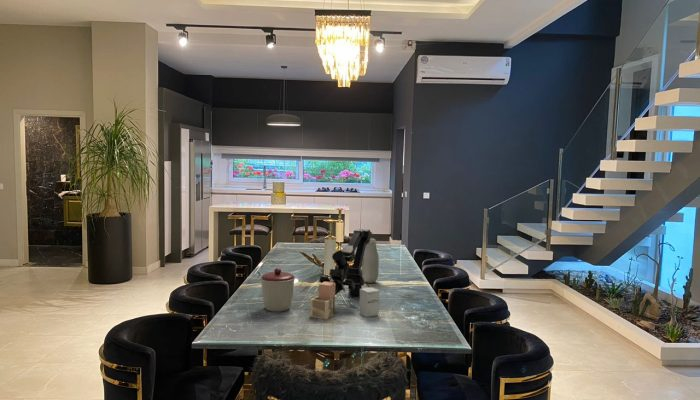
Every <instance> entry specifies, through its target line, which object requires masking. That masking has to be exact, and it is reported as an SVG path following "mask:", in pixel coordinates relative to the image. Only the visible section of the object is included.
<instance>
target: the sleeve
mask: <svg viewBox="0 0 700 400" xmlns="http://www.w3.org/2000/svg"><path fill="white" fill-rule="evenodd" d="M309 301H310V307H309V308H310V311H309V315H310V316H309V317H312V318H316V317H317V318H318V319H322V318H324V319H323V320H328V319H330V318H332V317H333V316H335V310H334V298H331V299H329V300H327V301H323V300H319V295H316V296H314V297H313V298H311V299H309ZM329 317H330V318H329Z"/></svg>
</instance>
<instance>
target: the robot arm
mask: <svg viewBox="0 0 700 400" xmlns="http://www.w3.org/2000/svg"><path fill="white" fill-rule="evenodd" d="M371 238H373V232H372V231H371V230H370V229H364V228H359V229H354V230H353V234H352V236H351V237H350V239H349V241H348V244H347V246H345V247H344V248H343V249H342V250H340V249H338V250H337V251H335V252H334V253H333V254H332V256H331V258H332V260H333V262H334V264H335V265H336V266H337V267H336V268H335V269H333V268H330V270H329V274H328V275H329V276H331V277H330V278H329V277H328V276H323V275H321V276H320V277H319V282H320V284H321V283H323V282H332V283H335V296H336V295H338V294H339V293H340V292H341V291H344V290H345V286H346V287H347V288H348V295H349V296H351V297H352V298H355V297H360V289H363V288H362V287H363V286H364V285H365V281H364V279H363V277H362V261H363V256H364V252H365V247H366V245H367V244H368V243H369V242H370V239H371ZM349 263H352V266H351V267H350V264H349Z"/></svg>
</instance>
